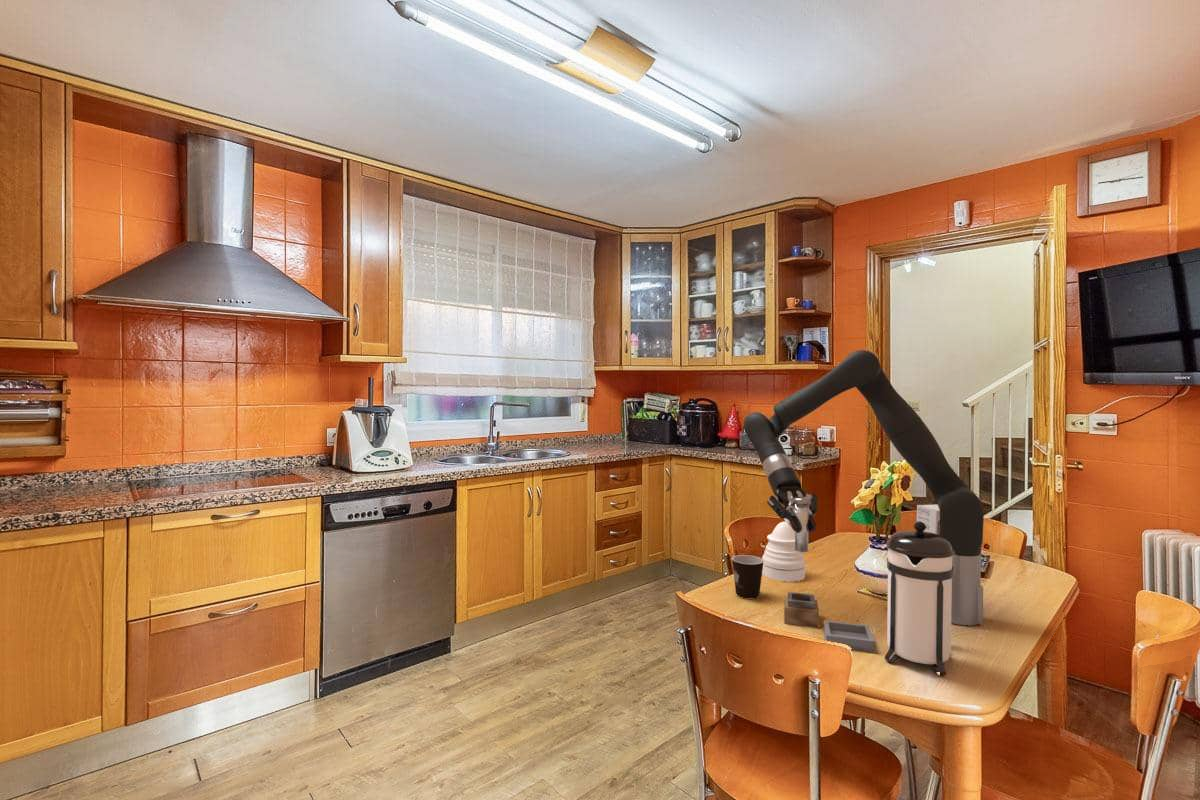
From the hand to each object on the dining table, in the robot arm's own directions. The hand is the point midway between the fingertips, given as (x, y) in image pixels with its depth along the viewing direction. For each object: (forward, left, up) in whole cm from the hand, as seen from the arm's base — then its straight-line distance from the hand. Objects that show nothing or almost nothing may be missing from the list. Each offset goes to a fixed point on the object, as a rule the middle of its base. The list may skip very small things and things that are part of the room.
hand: (806, 530), depth 144 cm
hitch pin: (+1, -2, -5) cm, 6 cm away
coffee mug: (+15, -17, -23) cm, 32 cm away
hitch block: (+1, -2, -23) cm, 23 cm away
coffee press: (-22, +12, -23) cm, 35 cm away
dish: (-9, +8, -23) cm, 26 cm away
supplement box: (-46, -75, -23) cm, 91 cm away
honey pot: (+5, -36, -23) cm, 43 cm away
